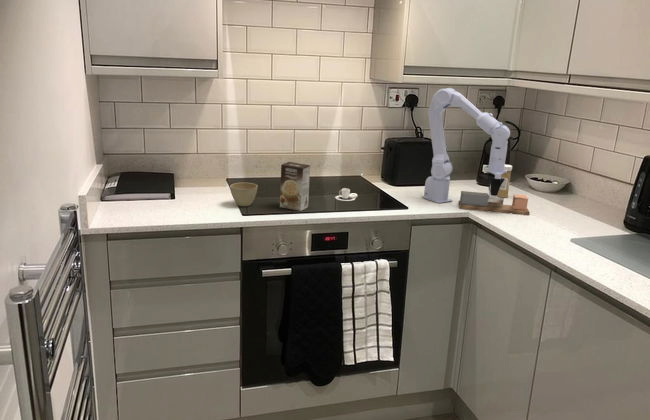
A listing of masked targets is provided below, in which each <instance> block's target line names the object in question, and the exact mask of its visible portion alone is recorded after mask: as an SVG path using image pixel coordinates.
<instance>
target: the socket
mask: <svg viewBox="0 0 650 420" xmlns="http://www.w3.org/2000/svg"><path fill="white" fill-rule="evenodd" d="M528 203H529V198H528V196H527V195H525V194H515V193H514V194H513V197H512V203H511V205H512V207H513V209H514V210H521V211H526V209H528Z"/></svg>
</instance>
